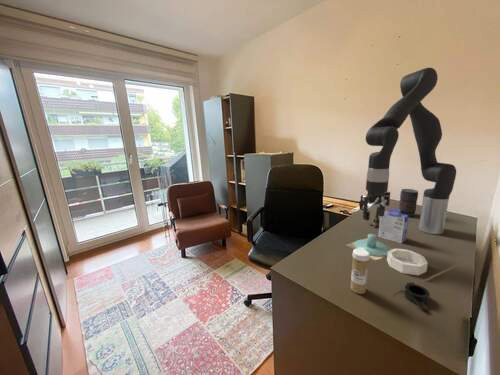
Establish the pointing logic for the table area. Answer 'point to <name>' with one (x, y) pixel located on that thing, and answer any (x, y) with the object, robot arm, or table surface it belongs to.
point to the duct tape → (417, 295)
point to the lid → (372, 246)
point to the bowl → (407, 261)
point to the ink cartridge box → (393, 226)
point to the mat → (369, 255)
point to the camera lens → (408, 202)
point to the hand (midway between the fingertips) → (373, 217)
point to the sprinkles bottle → (359, 270)
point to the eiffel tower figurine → (376, 219)
